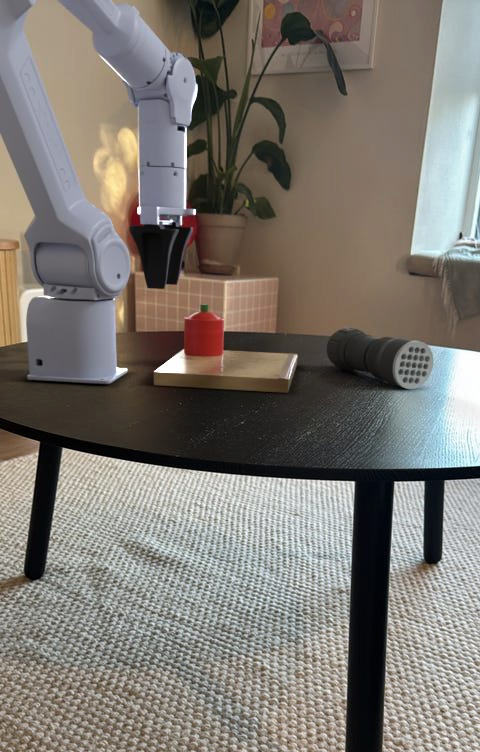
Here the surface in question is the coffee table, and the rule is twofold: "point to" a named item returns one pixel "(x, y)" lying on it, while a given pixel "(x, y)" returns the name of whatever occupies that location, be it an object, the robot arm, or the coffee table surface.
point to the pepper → (203, 333)
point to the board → (230, 371)
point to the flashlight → (382, 357)
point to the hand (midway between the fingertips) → (162, 286)
